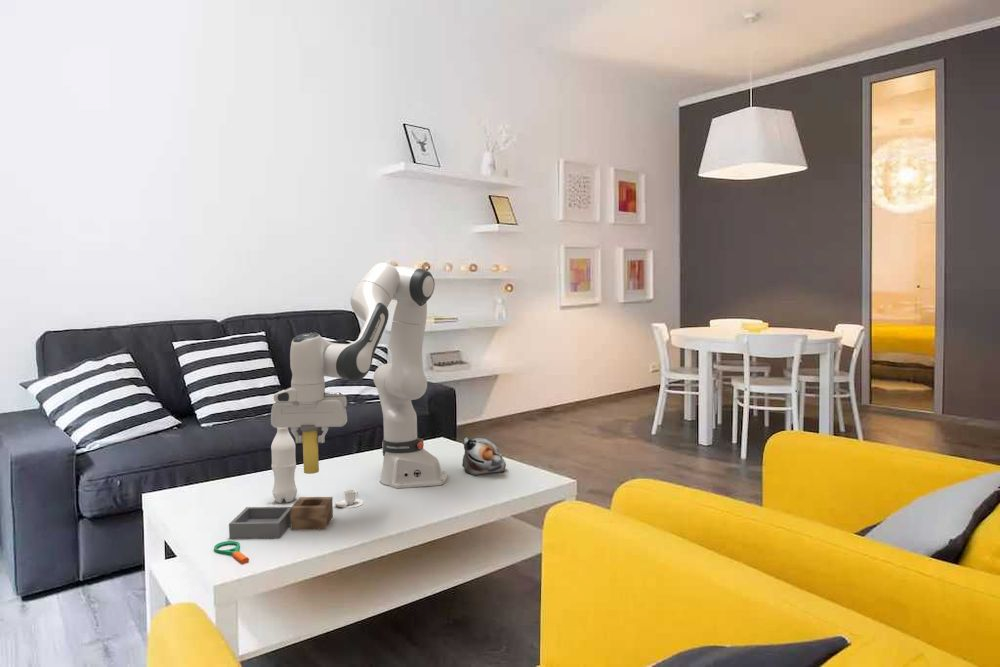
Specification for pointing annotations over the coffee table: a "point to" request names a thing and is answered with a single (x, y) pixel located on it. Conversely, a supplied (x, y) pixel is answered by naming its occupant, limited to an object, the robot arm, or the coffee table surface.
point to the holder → (311, 513)
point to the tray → (260, 523)
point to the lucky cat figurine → (481, 457)
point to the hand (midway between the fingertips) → (310, 442)
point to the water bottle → (283, 466)
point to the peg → (310, 448)
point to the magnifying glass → (232, 551)
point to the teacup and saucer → (349, 500)
